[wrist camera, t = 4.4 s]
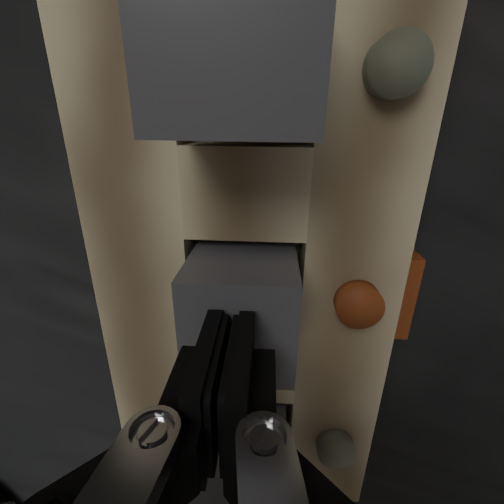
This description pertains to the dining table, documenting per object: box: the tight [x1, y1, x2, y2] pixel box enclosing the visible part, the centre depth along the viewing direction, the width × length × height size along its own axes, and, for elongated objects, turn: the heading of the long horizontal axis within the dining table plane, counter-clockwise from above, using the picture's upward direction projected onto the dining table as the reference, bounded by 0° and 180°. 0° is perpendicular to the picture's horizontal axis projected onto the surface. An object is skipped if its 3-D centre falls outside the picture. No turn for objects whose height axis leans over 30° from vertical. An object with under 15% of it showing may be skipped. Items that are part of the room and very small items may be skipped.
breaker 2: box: [171, 240, 303, 391], centre depth 14 cm, size 4×4×6 cm
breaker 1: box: [118, 0, 336, 143], centre depth 9 cm, size 4×4×6 cm
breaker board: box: [36, 0, 468, 502], centre depth 16 cm, size 15×28×5 cm, turn 179°
